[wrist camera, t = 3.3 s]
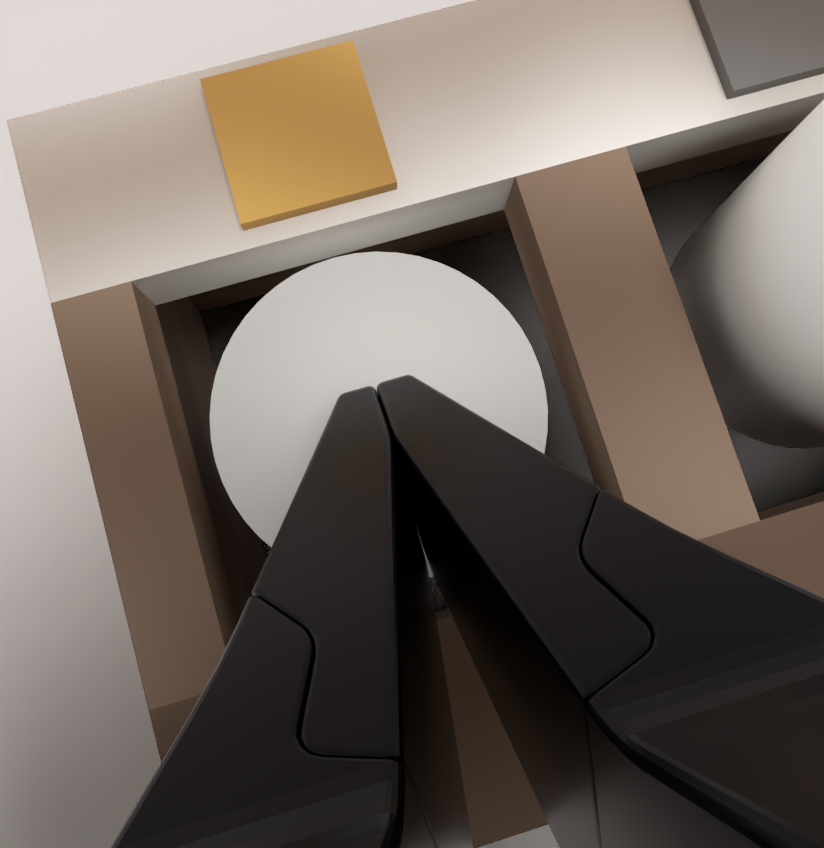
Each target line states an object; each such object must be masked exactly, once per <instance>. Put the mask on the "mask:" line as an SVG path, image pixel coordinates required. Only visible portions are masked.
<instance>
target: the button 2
mask: <svg viewBox="0 0 824 848" xmlns="http://www.w3.org/2000/svg"><path fill="white" fill-rule="evenodd" d="M404 375H412V376H414V377H415V378H417V379H419V380H421V381H422V382H424V383H426V384H427V385H429V386H431V387H432V388H434V389H436V390H437V391H439V392H441V393H442V394H444V395H446V396H447V397H449V398H451V399H452V400H454V401H456V402H458V403H459V404H461V405H463V406H464V407H466V408H468V409H469V410H471V411H473V412H474V413H476V414H478V415H479V416H481V417H483V418H484V419H486V420H488V421H490V422H491V423H493V424H495V425H496V426H498V427H500V428H501V429H503V430H505V431H506V432H508V433H510V434H511V435H513V436H515V437H516V438H518V439H520V440H521V441H523V442H525V443H527V444H528V445H530V446H532V447H533V448H535V449H537V450H538V451H540V452H542V453H543V454H544V453H545V446H546V439H547V432H548V406H547V398H546V389H545V385H544V381H543V377H542V373H541V369H540V366H539V363H538V361H537V358H536V356H535V353H534V351H533V348H532V346H531V344H530V343H529V341H528V339H527V337H526V335H525V334H524V332H523V330H522V328H521V327H520V326H519V324H518V323H517V322H516V320H515V319H514V318H513V316H512V315H511V314H510V312H509V311H508V310H507V309H506V308H505V307H504V306H503V305H502V304H501V303H500V302H499V301H498V300H497V299H496V297H495V296H494V295H492V294H491V293H490V292H489V291H487V290H486V289H485V288H484V287H482V286H481V285H480V284H479V283H477V282H476V281H474V280H472V279H471V278H469V277H468V276H466V275H464V274H463V273H461V272H459V271H457V270H455V269H453V268H451V267H448V266H446V265H444V264H442V263H439V262H436V261H433V260H430V259H426V258H423V257H420V256H415V255H409V254H403V253H397V252H364V253H354V254H349V255H344V256H339V257H335V258H331V259H328V260H325V261H323V262H320V263H317V264H314V265H312V266H310V267H308V268H306V269H304V270H301V271H299V272H297V273H295V274H294V275H292V276H290V277H289V278H287V279H286V280H284V281H283V282H281V283H280V284H278V285H277V286H276V287H274V288H273V289H272V290H271V291H270V292H269V293H267V294H266V295H265V296H264V297H263V298H262V299H260V300H259V301H258V303H257V304H256V305H255V306H254V307H253V308H252V309H251V310H250V311H249V313H248V314H247V315H246V316H245V317H244V319H243V320H242V322H241V323H240V325H239V326H238V327H237V329H236V330H235V332H234V333H233V335H232V337H231V339H230V341H229V343H228V345H227V347H226V349H225V351H224V353H223V355H222V358H221V361H220V363H219V366H218V369H217V372H216V375H215V380H214V384H213V389H212V394H211V404H210V417H209V418H210V435H211V443H212V448H213V454H214V459H215V463H216V466H217V469H218V472H219V475H220V478H221V481H222V483H223V485H224V487H225V489H226V491H227V493H228V495H229V497H230V499H231V501H232V503H233V504H234V506H235V507H236V509H237V510H238V512H239V513H240V515H241V516H242V518H243V519H244V521H245V522H246V523H247V524H248V525H249V526H250V527H251V528H252V530H253V531H254V532H255V533H256V534H257V535H258V536H259V537H260V538H261V539H262V540H263V541H264V542H265V543H267V544H268V545H269V546H270V547H271V548H272V545H273V543H274V541H275V539H276V536H277V534H278V532H279V530H280V527H281V525H282V523H283V521H284V518H285V516H286V514H287V512H288V509H289V507H290V505H291V503H292V500H293V498H294V496H295V494H296V491H297V489H298V487H299V485H300V482H301V480H302V478H303V476H304V473H305V471H306V469H307V466H308V464H309V462H310V460H311V457H312V455H313V453H314V451H315V448H316V446H317V444H318V442H319V439H320V437H321V435H322V433H323V430H324V428H325V426H326V424H327V421H328V419H329V417H330V415H331V412H332V410H333V408H334V406H335V403H336V401H337V399H338V397H339V396H340V395H341V394H343V393H346V392H349V391H353V390H356V389H360V388H363V387H367V386H372V387H374V388H375V389H376V391H377V386H378V384H379V383H381V382H384V381H387V380H391V379H394V378H398V377H401V376H404ZM417 530H418V529H417ZM419 537H420V536H419ZM420 541H421V539H420ZM421 544H422V543H421ZM422 548H423V546H422ZM423 552H424V549H423ZM424 555H425V552H424ZM425 559H426V563H427V567H428V572H429V577H430V578H431V577H433V576H434V575H433V573H432V571H431V568H430V566H429V563H428V560H427V558H426V555H425Z"/></svg>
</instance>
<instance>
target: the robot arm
mask: <svg viewBox="0 0 824 848" xmlns="http://www.w3.org/2000/svg"><path fill="white" fill-rule="evenodd" d="M417 529H418V530H417ZM419 536H420V537H419ZM420 539H421V541H420ZM421 543H422V544H421ZM422 546H423V548H422ZM423 549H424V552H425V555H426V558H427V560H428V563H429V566H430V568H431V571H432V573H433V575H434V578H435V580H436V582H437V585H438V587H439V589H440V591H441V593H442V595H443V597H444V600H445V602H446V604H447V606H448V608H449V610H450V613H451V615H452V617H453V619H454V621H455V623H456V625H457V628H458V630H459V632H460V634H461V636H462V638H463V640H464V643H465V645H466V647H467V649H468V651H469V653H470V656H471V658H472V660H473V662H474V664H475V666H476V668H477V671H478V673H479V675H480V677H481V679H482V681H483V684H484V686H485V688H486V690H487V692H488V694H489V696H490V699H491V701H492V703H493V705H494V707H495V709H496V712H497V714H498V716H499V718H500V720H501V722H502V724H503V727H504V729H505V731H506V733H507V735H508V737H509V740H510V742H511V744H512V746H513V748H514V750H515V752H516V755H517V757H518V759H519V761H520V763H521V765H522V768H523V770H524V772H525V774H526V776H527V778H528V780H529V783H530V785H531V787H532V789H533V791H534V793H535V796H536V798H537V800H538V802H539V804H540V806H541V808H542V811H543V813H544V815H545V817H546V819H547V821H548V824H549V826H550V828H551V830H552V832H553V834H554V836H555V839H556V841H557V843H558V845H559V847H560V848H824V598H822V597H820V596H818V595H816V594H813V593H811V592H809V591H807V590H805V589H802V588H800V587H798V586H796V585H793V584H791V583H789V582H787V581H785V580H782V579H780V578H778V577H776V576H774V575H771V574H769V573H767V572H765V571H763V570H760V569H758V568H756V567H754V566H751V565H749V564H747V563H745V562H743V561H740V560H738V559H736V558H734V557H732V556H729V555H727V554H725V553H723V552H721V551H719V550H717V549H715V548H713V547H710V546H708V545H706V544H704V543H702V542H700V541H698V540H696V539H694V538H692V537H690V536H688V535H686V534H684V533H681V532H679V531H677V530H675V529H673V528H671V527H670V526H668V525H666V524H664V523H662V522H661V521H659V520H657V519H655V518H653V517H651V516H650V515H648V514H646V513H644V512H642V511H641V510H639V509H637V508H635V507H633V506H632V505H630V504H628V503H626V502H625V501H623V500H621V499H620V498H618V497H616V496H615V495H613V494H611V493H610V492H608V491H606V490H600V488H599V486H597V485H596V484H594V483H592V482H590V481H589V480H587V479H585V478H584V477H582V476H580V475H579V474H577V473H575V472H574V471H572V470H570V469H569V468H567V467H565V466H564V465H562V464H560V463H559V462H557V461H555V460H553V459H552V458H550V457H548V456H547V455H545V454H543V453H542V452H540V451H538V450H537V449H535V448H533V447H532V446H530V445H528V444H527V443H525V442H523V441H521V440H520V439H518V438H516V437H515V436H513V435H511V434H510V433H508V432H506V431H505V430H503V429H501V428H500V427H498V426H496V425H495V424H493V423H491V422H490V421H488V420H486V419H484V418H483V417H481V416H479V415H478V414H476V413H474V412H473V411H471V410H469V409H468V408H466V407H464V406H463V405H461V404H459V403H458V402H456V401H454V400H452V399H451V398H449V397H447V396H446V395H444V394H442V393H441V392H439V391H437V390H436V389H434V388H432V387H431V386H429V385H427V384H426V383H424V382H422V381H421V380H419V379H417V378H415V377H414V376H412V375H404V376H401V377H398V378H394V379H391V380H387V381H384V382H381V383H379V384H378V386H377V391H376V389H375V388H374V387H372V386H367V387H363V388H360V389H356V390H353V391H349V392H346V393H343V394H341V395H340V396H339V397H338V399H337V401H336V403H335V406H334V408H333V410H332V412H331V415H330V417H329V419H328V421H327V424H326V426H325V428H324V430H323V433H322V435H321V437H320V439H319V442H318V444H317V446H316V448H315V451H314V453H313V455H312V457H311V460H310V462H309V464H308V466H307V469H306V471H305V473H304V476H303V478H302V480H301V482H300V485H299V487H298V489H297V491H296V494H295V496H294V498H293V500H292V503H291V505H290V507H289V509H288V512H287V514H286V516H285V518H284V521H283V523H282V525H281V527H280V530H279V532H278V534H277V536H276V539H275V541H274V543H273V545H272V548H271V550H270V552H269V554H268V557H267V559H266V561H265V563H264V566H263V568H262V570H261V572H260V575H259V577H258V579H257V581H256V584H255V586H254V588H253V590H252V595H253V596H250V597H249V599H248V601H247V603H246V605H245V608H244V610H243V612H242V614H241V617H240V619H239V621H238V623H237V625H236V628H235V630H234V632H233V634H232V636H231V638H230V640H229V642H228V644H227V646H226V648H225V650H224V652H223V654H222V656H221V658H220V661H219V663H218V665H217V667H216V669H215V671H214V672H213V674H212V676H211V678H210V679H209V681H208V683H207V685H206V687H205V688H204V690H203V692H202V694H201V696H200V697H199V699H198V701H197V703H196V704H195V706H194V708H193V710H192V712H191V713H190V715H189V717H188V719H187V720H186V722H185V724H184V726H183V727H182V729H181V731H180V732H179V734H178V736H177V737H176V739H175V741H174V742H173V744H172V746H171V747H170V749H169V751H168V752H167V754H166V756H165V757H164V759H163V761H162V762H161V764H160V766H159V768H158V769H157V771H156V773H155V774H154V776H153V778H152V779H151V781H150V783H149V784H148V786H147V788H146V789H145V791H144V793H143V794H142V796H141V798H140V799H139V801H138V803H137V805H136V806H135V808H134V810H133V811H132V813H131V815H130V816H129V818H128V820H127V821H126V823H125V825H124V826H123V828H122V830H121V831H120V833H119V835H118V836H117V838H116V840H115V841H114V843H113V845H112V847H111V848H473V843H472V837H471V831H470V825H469V818H468V812H467V806H466V800H465V794H464V787H463V781H462V775H461V769H460V762H459V756H458V750H457V744H456V738H455V731H454V725H453V719H452V713H451V706H450V700H449V694H448V688H447V682H446V675H445V669H444V663H443V657H442V650H441V644H440V638H439V632H438V625H437V619H436V613H435V607H434V601H433V594H432V588H431V582H430V577H429V572H428V567H427V563H426V559H425V555H424V552H423Z"/></svg>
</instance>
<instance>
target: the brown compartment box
mask: <svg viewBox="0 0 824 848" xmlns="http://www.w3.org/2000/svg"><path fill="white" fill-rule="evenodd" d="M823 100H824V0H475V1H471V2H467V3H463V4H460V5H456V6H452V7H448V8H444V9H440V10H436V11H432V12H428V13H424V14H420V15H417V16H413V17H409V18H405V19H401V20H397V21H393V22H389V23H385V24H381V25H377V26H373V27H370V28H366V29H362V30H358V31H354V32H350V33H346V34H342V35H338V36H334V37H330V38H327V39H323V40H319V41H315V42H311V43H307V44H303V45H299V46H295V47H291V48H287V49H284V50H280V51H276V52H272V53H268V54H264V55H260V56H256V57H252V58H248V59H244V60H241V61H237V62H233V63H229V64H225V65H221V66H217V67H213V68H209V69H205V70H201V71H197V72H194V73H190V74H186V75H182V76H178V77H174V78H170V79H166V80H162V81H158V82H154V83H151V84H147V85H143V86H139V87H135V88H131V89H127V90H123V91H119V92H115V93H111V94H108V95H104V96H100V97H96V98H92V99H88V100H84V101H80V102H76V103H72V104H68V105H65V106H61V107H57V108H53V109H49V110H45V111H41V112H37V113H33V114H29V115H25V116H21V117H18V118H14V119H10V120H7V124H8V128H9V132H10V137H11V141H12V145H13V149H14V153H15V157H16V161H17V166H18V170H19V174H20V178H21V182H22V186H23V190H24V195H25V199H26V203H27V207H28V211H29V215H30V219H31V224H32V228H33V232H34V236H35V240H36V244H37V249H38V253H39V257H40V261H41V265H42V269H43V273H44V278H45V282H46V286H47V290H48V294H49V298H50V302H51V307H52V311H53V315H54V319H55V323H56V327H57V331H58V336H59V340H60V344H61V348H62V352H63V356H64V360H65V365H66V369H67V373H68V377H69V381H70V385H71V390H72V394H73V398H74V402H75V406H76V410H77V414H78V419H79V423H80V427H81V431H82V435H83V439H84V443H85V448H86V452H87V456H88V460H89V464H90V468H91V472H92V477H93V481H94V485H95V489H96V493H97V497H98V502H99V506H100V510H101V514H102V518H103V522H104V526H105V531H106V535H107V539H108V543H109V547H110V551H111V555H112V560H113V564H114V568H115V572H116V576H117V580H118V584H119V589H120V593H121V597H122V601H123V605H124V609H125V614H126V618H127V622H128V626H129V630H130V634H131V638H132V643H133V647H134V651H135V655H136V659H137V663H138V667H139V672H140V676H141V680H142V684H143V688H144V692H145V696H146V701H147V705H148V709H149V713H150V717H151V721H152V726H153V730H154V734H155V738H156V742H157V746H158V750H159V755H160V759H161V762H162V761H163V759H164V757H165V756H166V754H167V752H168V751H169V749H170V747H171V746H172V744H173V742H174V741H175V739H176V737H177V736H178V734H179V732H180V731H181V729H182V727H183V726H184V724H185V722H186V720H187V719H188V717H189V715H190V713H191V712H192V710H193V708H194V706H195V704H196V703H197V701H198V699H199V697H200V696H201V694H202V692H203V690H204V688H205V687H206V685H207V683H208V681H209V679H210V678H211V676H212V674H213V672H214V671H215V669H216V667H217V665H218V663H219V661H220V658H221V656H222V654H223V652H224V650H225V648H226V646H227V644H228V642H229V640H230V638H231V636H232V634H233V632H234V630H235V628H236V625H237V623H238V621H239V619H240V617H241V614H242V612H243V610H244V608H245V605H246V603H247V601H248V599H249V597H250V596H253V595H252V590H253V588H254V586H255V584H256V581H257V579H258V577H259V575H260V572H261V570H262V568H263V566H264V563H265V561H266V559H267V558H266V555H265V551H264V547H263V544H262V540H261V538H260V537H259V536H258V535H257V534H256V533H255V532H254V531H253V530H252V528H251V527H250V526H249V525H248V524H247V523H246V522H245V521H244V519H243V518H242V516H241V515H240V513H239V512H238V510H237V509H236V507H235V506H234V504H233V503H232V501H231V499H230V497H229V495H228V493H227V491H226V489H225V487H224V485H223V483H222V481H221V478H220V475H219V472H218V469H217V466H216V463H215V459H214V454H213V448H212V443H211V435H210V418H209V417H210V404H211V394H212V389H213V384H214V380H215V375H216V369H215V365H214V361H213V357H212V354H211V350H210V346H209V343H208V339H207V335H206V331H205V328H204V324H203V320H202V317H201V313H200V312H202V311H206V310H210V309H213V308H217V307H220V306H224V305H228V304H231V303H235V302H238V301H242V300H246V299H249V298H253V297H257V296H260V295H264V294H267V293H269V292H270V291H271V290H272V289H273V288H274V287H276V286H277V285H278V284H280V283H281V282H283V281H284V280H286V279H287V278H289V277H290V276H292V275H294V274H295V273H297V272H299V271H301V270H304V269H306V268H308V267H310V266H312V265H314V264H317V263H320V262H323V261H325V260H328V259H331V258H335V257H339V256H344V255H349V254H354V253H364V252H397V253H403V254H412V253H415V252H419V251H423V250H426V249H430V248H433V247H437V246H441V245H444V244H448V243H452V242H455V241H459V240H462V239H466V238H470V237H473V236H477V235H480V234H484V233H488V232H491V231H495V230H498V229H502V228H506V227H509V226H510V229H511V232H512V235H513V238H514V241H515V244H516V247H517V250H518V253H519V256H520V259H521V262H522V265H523V268H524V271H525V274H526V277H527V280H528V283H529V286H530V289H531V292H532V295H533V298H534V301H535V304H536V307H537V310H538V313H539V316H540V319H541V322H542V325H543V328H544V331H545V334H546V337H547V340H548V343H549V346H550V349H551V352H552V355H553V358H554V361H555V364H556V367H557V370H558V373H559V376H560V380H561V383H562V386H563V389H564V392H565V395H566V398H567V401H568V404H569V407H570V410H571V413H572V416H573V419H574V422H575V425H576V428H577V431H578V434H579V437H580V440H581V443H582V446H583V449H584V452H585V455H586V458H587V461H588V464H589V467H590V470H591V473H592V476H593V479H594V482H595V484H596V485H597V486H599V488H600V490H606V491H608V492H610V493H611V494H613V495H615V496H616V497H618V498H620V499H621V500H623V501H625V502H626V503H628V504H630V505H632V506H633V507H635V508H637V509H639V510H641V511H642V512H644V513H646V514H648V515H650V516H651V517H653V518H655V519H657V520H659V521H661V522H662V523H664V524H666V525H668V526H670V527H671V528H673V529H675V530H677V531H679V532H681V533H684V534H686V535H688V536H690V537H692V538H694V539H696V540H698V541H700V542H702V543H704V544H706V545H708V546H710V547H713V548H715V549H717V550H719V551H721V552H723V553H725V554H727V555H729V556H732V557H734V558H736V559H738V560H740V561H743V562H745V563H747V564H749V565H751V566H754V567H756V568H758V569H760V570H763V571H765V572H767V573H769V574H771V575H774V576H776V577H778V578H780V579H782V580H785V581H787V582H789V583H791V584H793V585H796V586H798V587H800V588H802V589H805V590H807V591H809V592H811V593H813V594H816V595H818V596H820V597H822V598H824V492H821V493H818V494H815V495H812V496H808V497H805V498H802V499H799V500H795V501H792V502H789V503H786V504H783V505H779V506H776V507H773V508H770V509H766V510H763V511H760V512H757V510H756V507H755V505H754V502H753V499H752V496H751V494H750V491H749V488H748V485H747V482H746V480H745V477H744V474H743V471H742V469H741V466H740V463H739V460H738V457H737V455H736V452H735V449H734V446H733V444H732V441H731V438H730V435H729V432H728V430H727V427H726V424H725V421H724V418H723V416H722V413H721V410H720V407H719V405H718V402H717V399H716V396H715V393H714V391H713V388H712V385H711V382H710V380H709V377H708V374H707V371H706V368H705V366H704V363H703V360H702V357H701V355H700V352H699V349H698V346H697V343H696V341H695V338H694V335H693V332H692V330H691V327H690V324H689V321H688V318H687V316H686V313H685V310H684V307H683V304H682V302H681V299H680V296H679V293H678V291H677V288H676V285H675V282H674V279H673V277H672V274H671V271H670V268H669V266H668V263H667V260H666V257H665V254H664V252H663V249H662V246H661V243H660V241H659V238H658V235H657V232H656V229H655V227H654V224H653V221H652V218H651V216H650V213H649V210H648V207H647V204H646V202H645V199H644V196H643V193H642V190H643V189H646V188H650V187H654V186H657V185H661V184H665V183H668V182H672V181H675V180H679V179H683V178H686V177H690V176H693V175H697V174H701V173H704V172H708V171H711V170H715V169H719V168H722V167H726V166H730V165H733V164H737V163H740V162H744V161H748V160H751V159H755V158H758V157H762V156H766V155H769V154H771V153H772V152H773V151H774V149H775V148H776V147H777V146H778V145H779V144H780V143H781V142H782V141H783V140H784V139H785V138H786V137H787V136H788V135H789V134H790V133H791V132H792V131H793V130H794V129H795V128H796V127H797V126H798V125H799V124H800V123H801V122H802V121H803V120H804V119H805V118H806V117H807V116H808V115H809V114H810V113H811V112H812V111H813V110H814V109H815V108H816V107H817V106H818V105H819V104H820V103H821V102H822V101H823ZM435 613H436V619H437V625H438V632H439V638H440V644H441V650H442V657H443V663H444V669H445V675H446V682H447V688H448V694H449V700H450V706H451V713H452V719H453V725H454V731H455V738H456V744H457V750H458V756H459V762H460V769H461V775H462V781H463V787H464V794H465V800H466V806H467V812H468V818H469V825H470V831H471V837H472V843H473V848H478V847H481V846H484V845H487V844H490V843H493V842H496V841H499V840H502V839H505V838H508V837H511V836H514V835H517V834H520V833H523V832H526V831H529V830H532V829H535V828H538V827H541V826H544V825H547V824H548V821H547V819H546V817H545V815H544V813H543V811H542V808H541V806H540V804H539V802H538V800H537V798H536V796H535V793H534V791H533V789H532V787H531V785H530V783H529V780H528V778H527V776H526V774H525V772H524V770H523V768H522V765H521V763H520V761H519V759H518V757H517V755H516V752H515V750H514V748H513V746H512V744H511V742H510V740H509V737H508V735H507V733H506V731H505V729H504V727H503V724H502V722H501V720H500V718H499V716H498V714H497V712H496V709H495V707H494V705H493V703H492V701H491V699H490V696H489V694H488V692H487V690H486V688H485V686H484V684H483V681H482V679H481V677H480V675H479V673H478V671H477V668H476V666H475V664H474V662H473V660H472V658H471V656H470V653H469V651H468V649H467V647H466V645H465V643H464V640H463V638H462V636H461V634H460V632H459V630H458V628H457V625H456V623H455V621H454V619H453V617H452V615H451V613H450V610H449V608H447V609H444V610H440V611H437V612H435Z"/></svg>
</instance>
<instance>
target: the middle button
mask: <svg viewBox="0 0 824 848" xmlns="http://www.w3.org/2000/svg"><path fill="white" fill-rule="evenodd" d="M670 271H671V274H672V277H673V279H674V282H675V285H676V288H677V291H678V293H679V296H680V299H681V302H682V304H683V307H684V310H685V313H686V316H687V318H688V321H689V324H690V327H691V330H692V332H693V335H694V338H695V341H696V343H697V346H698V349H699V352H700V355H701V357H702V360H703V363H704V366H705V368H706V371H707V374H708V377H709V380H710V382H711V385H712V388H713V391H714V393H715V396H716V399H717V402H718V405H719V407H720V410H721V413H722V416H723V418H724V421H725V424H726V425H728V426H730V427H731V428H733V429H735V430H736V431H738V432H740V433H742V434H744V435H746V436H749V437H751V438H753V439H755V440H758V441H762V442H765V443H768V444H772V445H777V446H782V447H788V448H817V447H824V100H823V101H822V102H821V103H820V104H819V105H818V106H817V107H816V108H815V109H814V110H813V111H812V112H811V113H810V114H809V115H808V116H807V117H806V118H805V119H804V120H803V121H802V122H801V123H800V124H799V125H798V126H797V127H796V128H795V129H794V130H793V131H792V132H791V133H790V134H789V135H788V136H787V137H786V138H785V139H784V140H783V141H782V142H781V143H780V144H779V145H778V146H777V147H776V148H775V149H774V151H773V152H772V153H771V154H770V155H769V156H768V157H767V158H766V159H765V160H764V161H763V162H762V163H761V164H760V165H759V166H758V167H757V168H756V169H755V170H754V171H753V172H752V173H751V174H750V175H749V176H748V177H747V178H746V179H745V180H744V181H743V182H742V183H741V184H740V185H739V186H738V187H737V188H736V189H735V190H734V191H733V192H732V193H731V194H730V195H729V196H728V197H727V198H726V199H725V200H724V201H723V202H722V204H721V205H720V206H719V207H718V208H717V209H716V210H715V211H714V212H713V213H712V214H711V215H710V216H709V217H708V218H707V219H706V220H705V221H704V222H703V223H702V224H701V225H700V226H699V227H698V228H697V229H696V230H695V231H694V232H693V233H692V235H691V236H690V237H689V238H688V240H687V241H686V242H685V243H684V245H683V246H682V248H681V250H680V251H679V253H678V255H677V256H676V258H675V261H674V263H673V266H672V268H671V270H670Z"/></svg>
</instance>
